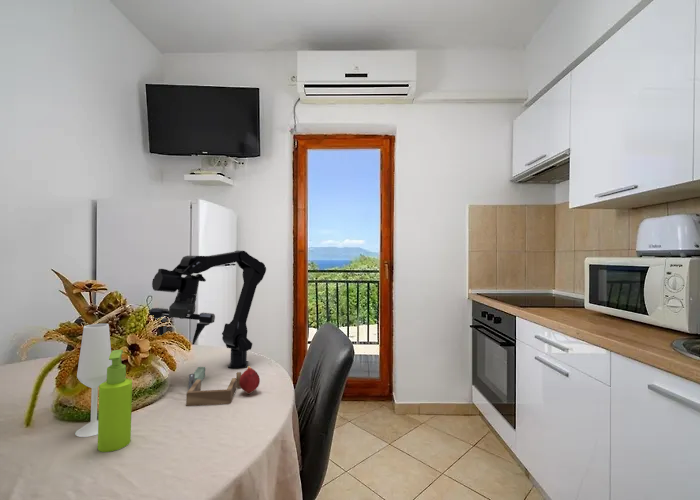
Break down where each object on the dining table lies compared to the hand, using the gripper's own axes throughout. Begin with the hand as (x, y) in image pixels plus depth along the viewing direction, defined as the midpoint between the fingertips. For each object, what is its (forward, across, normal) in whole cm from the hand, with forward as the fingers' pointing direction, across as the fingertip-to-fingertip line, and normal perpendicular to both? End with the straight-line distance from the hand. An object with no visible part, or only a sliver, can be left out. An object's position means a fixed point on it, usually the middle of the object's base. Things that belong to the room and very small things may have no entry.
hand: (178, 343), depth 110 cm
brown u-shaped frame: (+12, +15, -11) cm, 22 cm away
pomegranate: (+11, +25, -10) cm, 29 cm away
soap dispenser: (+17, 0, -34) cm, 38 cm away
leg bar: (+12, +7, +2) cm, 14 cm away
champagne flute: (+17, -8, -26) cm, 32 cm away
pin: (+12, +7, -5) cm, 15 cm away
